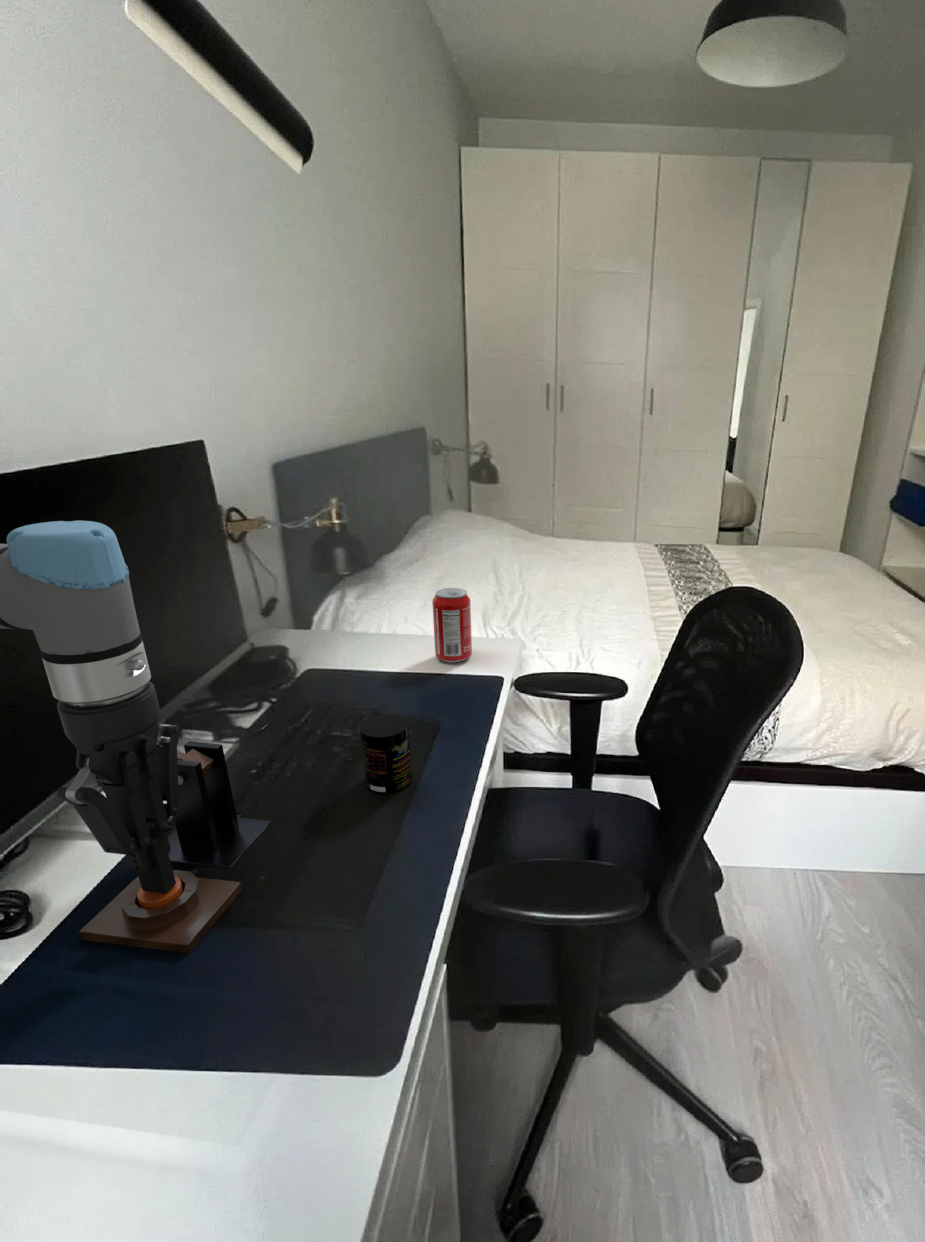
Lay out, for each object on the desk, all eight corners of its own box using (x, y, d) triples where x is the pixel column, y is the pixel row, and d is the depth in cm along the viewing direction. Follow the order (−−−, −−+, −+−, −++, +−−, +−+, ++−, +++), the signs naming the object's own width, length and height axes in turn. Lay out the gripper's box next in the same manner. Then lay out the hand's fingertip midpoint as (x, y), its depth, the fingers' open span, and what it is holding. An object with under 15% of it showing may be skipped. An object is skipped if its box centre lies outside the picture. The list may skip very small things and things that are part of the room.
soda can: (446, 668, 135) (443, 600, 129) (428, 656, 141) (425, 590, 135) (478, 659, 140) (477, 593, 134) (460, 648, 145) (458, 584, 140)
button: (131, 912, 68) (127, 900, 68) (158, 885, 72) (155, 873, 71) (166, 917, 68) (163, 904, 67) (192, 889, 72) (189, 877, 71)
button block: (84, 947, 67) (73, 918, 66) (147, 885, 76) (139, 858, 74) (191, 961, 66) (184, 931, 65) (244, 896, 75) (238, 869, 73)
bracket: (146, 865, 79) (119, 769, 73) (195, 819, 87) (175, 730, 82) (231, 875, 78) (210, 778, 72) (273, 828, 86) (257, 738, 81)
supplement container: (420, 776, 98) (416, 716, 94) (403, 802, 92) (397, 739, 88) (378, 771, 99) (372, 711, 95) (358, 797, 93) (350, 734, 89)
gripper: (85, 727, 54) (147, 939, 63) (190, 665, 66) (230, 850, 75) (3, 719, 55) (76, 930, 63) (122, 659, 67) (169, 843, 75)
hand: (159, 886), depth 69 cm, fingers closed
